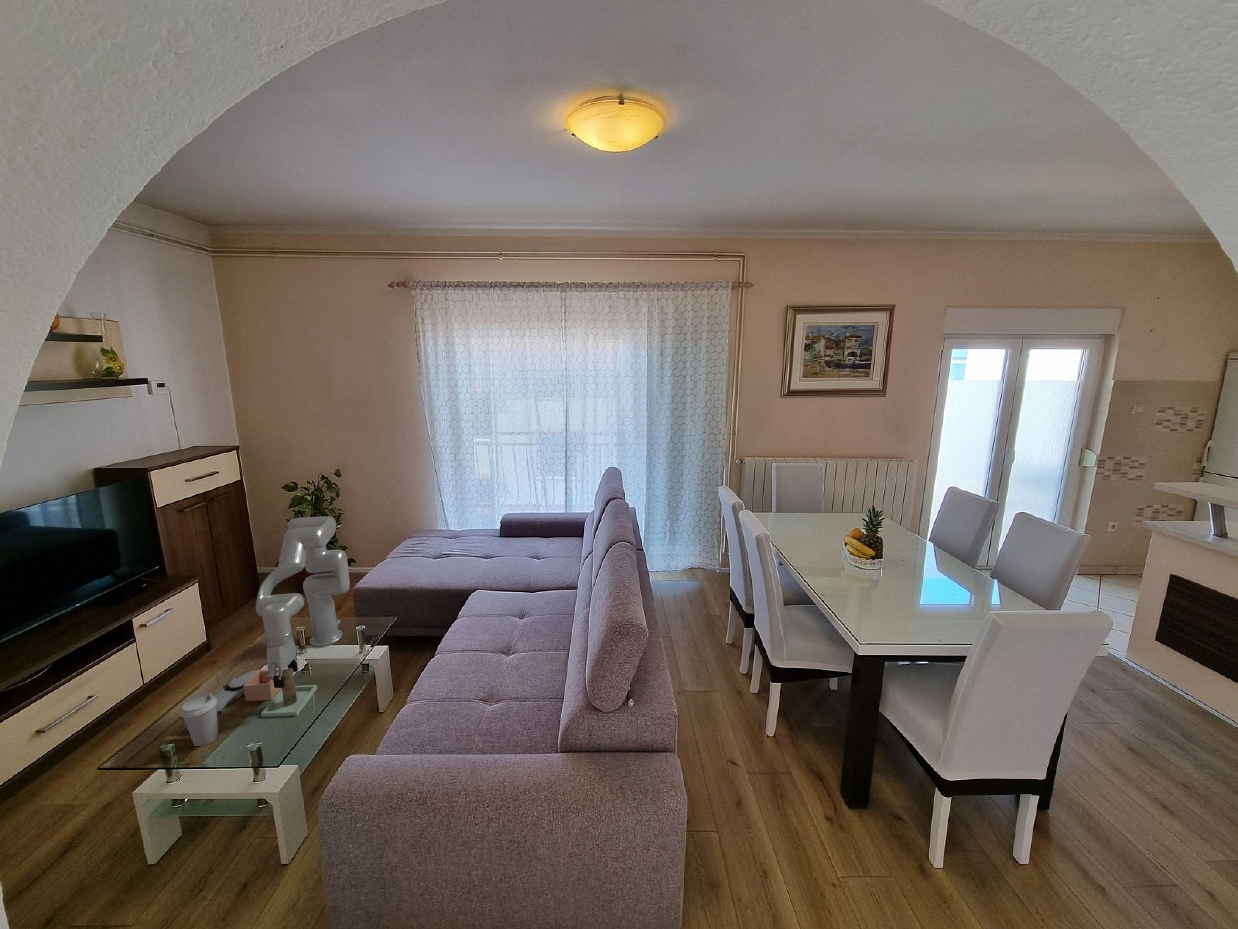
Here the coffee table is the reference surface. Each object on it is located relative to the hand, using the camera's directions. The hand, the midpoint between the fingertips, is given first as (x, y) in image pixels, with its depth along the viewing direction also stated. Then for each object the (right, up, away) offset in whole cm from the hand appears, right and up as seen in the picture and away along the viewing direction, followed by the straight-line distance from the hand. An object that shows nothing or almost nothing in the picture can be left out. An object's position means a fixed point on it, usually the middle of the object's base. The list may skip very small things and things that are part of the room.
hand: (286, 679), depth 176 cm
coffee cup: (-18, -15, -13) cm, 27 cm away
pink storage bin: (-13, -9, +7) cm, 17 cm away
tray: (0, -11, +3) cm, 11 cm away
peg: (0, -10, +2) cm, 10 cm away
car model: (-24, -10, +6) cm, 27 cm away
